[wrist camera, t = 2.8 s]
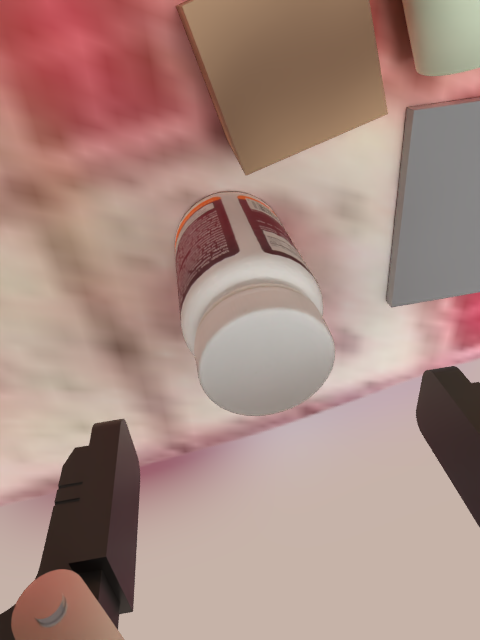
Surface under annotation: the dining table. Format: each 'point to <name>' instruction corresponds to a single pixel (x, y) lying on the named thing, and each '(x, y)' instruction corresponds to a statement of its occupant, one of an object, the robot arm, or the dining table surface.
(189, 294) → the pill bottle
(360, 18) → the walnut cube
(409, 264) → the plate
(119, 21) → the dining table surface
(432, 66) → the green tub
